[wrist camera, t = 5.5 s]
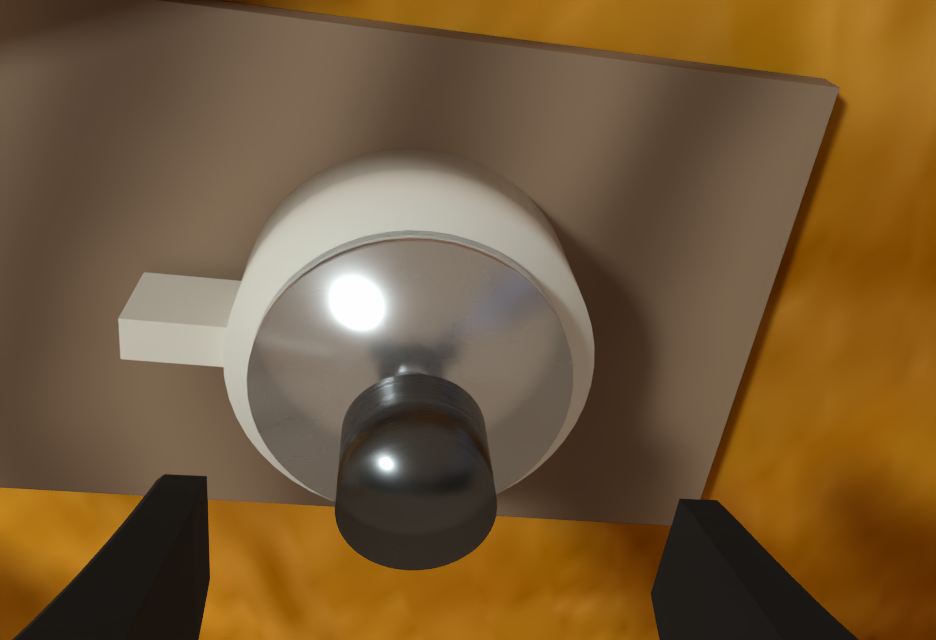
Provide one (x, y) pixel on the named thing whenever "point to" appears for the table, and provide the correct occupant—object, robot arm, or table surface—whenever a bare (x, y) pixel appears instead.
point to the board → (348, 136)
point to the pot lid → (410, 388)
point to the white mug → (339, 221)
